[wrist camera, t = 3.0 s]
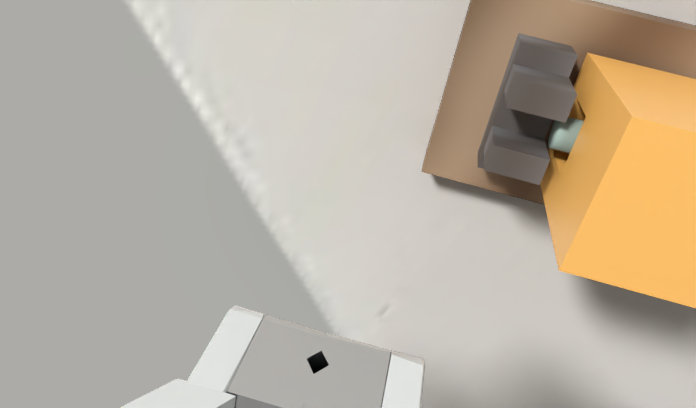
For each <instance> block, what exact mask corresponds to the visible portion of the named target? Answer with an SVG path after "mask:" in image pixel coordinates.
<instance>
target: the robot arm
mask: <svg viewBox="0 0 696 408" xmlns="http://www.w3.org/2000/svg"><path fill="white" fill-rule="evenodd" d="M424 371H425V362H424V360H423V359H422V358H419V357H415V356H411V355H407V354H404V353H400V352H396V351H392V350H391V352H390V350H387V349H384V348H380V347H376V346H373V345H369V344H365V343H362V342H358V341H355V340H351V339H347V338H344V337H340V336H337V335H333V334H329V333H325V332H322V331H319V330H316V329H312V328H309V327H306V326H303V325H300V324H297V323H293V322H290V321H287V320H283V319H280V318H277V317H274V316H271V315H268V314H266V315H265V314H262V313H259V312H256V311H252V310H249V309H246V308H243V307H240V306H237V305H235V306H233V307H232V308H231V309H230V310H229V311H228V312H227V314H226V316H225V318H224V319H223V321H222V322H221V324H220V326H219V328H218V329H217V331H216V333H215V334H214V336H213V338H212V339H211V341H210V343H209V344H208V346H207V348H206V349H205V351H204V353H203V355H202V356H201V358H200V360H199V361H198V363H197V365H196V366H195V368H194V370H193V371H192V373H191V375H190V377H189V378H188V380H187V381H185V380H181V379H175V380H173V381H171V382H169V383H167V384H165V385H163V386H161V387H159V388H157V389H155V390H153V391H151V392H149V393H147V394H145V395H143V396H141V397H140V398H137V399H136V400H134V401H132V402H130V403H128V404H126V405H124V406H122V407H120V408H421V402H422V392H423V381H424Z"/></svg>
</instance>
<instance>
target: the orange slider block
mask: <svg viewBox="0 0 696 408" xmlns="http://www.w3.org/2000/svg"><path fill="white" fill-rule="evenodd" d="M574 89H575V91H576V93H577V97H576V99H575V101H574V104H573V106H572V109H571V111H570V114H569V116H568V117H570V118H574V119H578V120H582V121H584V122H583V124H582V127H581V129H580V131H579V134H578V136H577V138H576V140H575V143H574V145H573V147H572V150H571V152H570V153H567V152H563V151H559V150H556V149H552V148H548V154H549V158H550V162H549V164H548V166H547V169H546V171H545V174H544V176H543V178H542V181H541V183H540V185H541V190H542V194H543V199H544V204H545V208H546V213H547V217H548V222H549V227H550V231H551V236H552V241H553V245H554V250H555V255H556V259H557V264H558V269H559V271H563V272H566V273H570V274H573V275H577V276H581V277H584V278H588V279H591V280H595V281H599V282H602V283H606V284H610V285H613V286H617V287H620V288H624V289H628V290H631V291H635V292H638V293H642V294H646V295H649V296H653V297H657V298H660V299H664V300H667V301H671V302H675V303H678V304H682V305H685V306H689V307H693V308H696V79H693V78H689V77H685V76H681V75H677V74H673V73H669V72H664V71H660V70H656V69H652V68H648V67H644V66H640V65H636V64H632V63H628V62H624V61H620V60H616V59H612V58H607V57H603V56H599V55H595V54H591V53H587V55H586V57H585V60H584V62H583V65H582V67H581V70H580V72H579V74H578V77H577V79H576V82H575V84H574Z"/></svg>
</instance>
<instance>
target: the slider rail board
mask: <svg viewBox="0 0 696 408" xmlns="http://www.w3.org/2000/svg"><path fill="white" fill-rule="evenodd" d="M587 53H591V54H595V55H599V56H603V57H607V58H612V59H616V60H620V61H624V62H628V63H632V64H636V65H640V66H644V67H648V68H652V69H656V70H660V71H664V72H669V73H673V74H677V75H681V76H685V77H689V78H693V79H696V26H695V25H691V24H687V23H683V22H678V21H674V20H670V19H666V18H662V17H657V16H653V15H649V14H645V13H641V12H636V11H632V10H628V9H624V8H620V7H615V6H611V5H607V4H603V3H599V2H594V1H590V0H471V1H470V4H469V7H468V11H467V14H466V18H465V21H464V25H463V28H462V31H461V35H460V38H459V42H458V45H457V49H456V52H455V55H454V59H453V62H452V66H451V69H450V72H449V76H448V79H447V83H446V86H445V90H444V93H443V96H442V100H441V103H440V107H439V110H438V114H437V117H436V120H435V124H434V127H433V131H432V134H431V137H430V141H429V144H428V148H427V151H426V155H425V158H424V163H423V168H422V172H425V173H428V174H432V175H436V176H440V177H443V178H447V179H451V180H455V181H458V182H462V183H466V184H469V185H473V186H477V187H481V188H484V189H488V190H492V191H496V192H499V193H503V194H507V195H511V196H514V197H518V198H522V199H525V200H529V201H533V202H537V203H540V204H544V199H543V194H542V190H541V185H540V183H541V181H542V178H543V176H544V174H545V171H546V169H547V166H548V164H549V162H550V158H549V154H548V148H552V149H556V150H559V151H563V152H567V153H570V152H571V150H572V147H573V145H574V143H575V140H576V138H577V136H578V134H579V131H580V129H581V127H582V124H583V122H584V121H582V120H578V119H574V118H570V117H568V116H569V114H570V111H571V109H572V106H573V104H574V101H575V99H576V97H577V93H576V91H575V89H574V84H575V82H576V79H577V77H578V74H579V72H580V70H581V67H582V65H583V62H584V60H585V57H586V55H587ZM544 205H545V204H544Z"/></svg>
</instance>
